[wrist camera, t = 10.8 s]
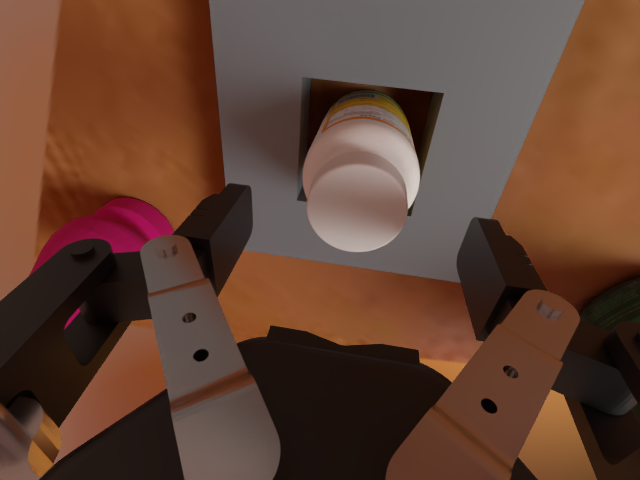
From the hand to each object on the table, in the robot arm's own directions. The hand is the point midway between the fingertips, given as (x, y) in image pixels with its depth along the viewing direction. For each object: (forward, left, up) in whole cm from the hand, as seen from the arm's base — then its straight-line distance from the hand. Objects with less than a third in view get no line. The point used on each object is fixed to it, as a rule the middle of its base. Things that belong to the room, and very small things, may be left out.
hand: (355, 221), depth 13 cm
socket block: (0, 0, -11) cm, 11 cm away
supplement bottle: (0, 0, -11) cm, 11 cm away
